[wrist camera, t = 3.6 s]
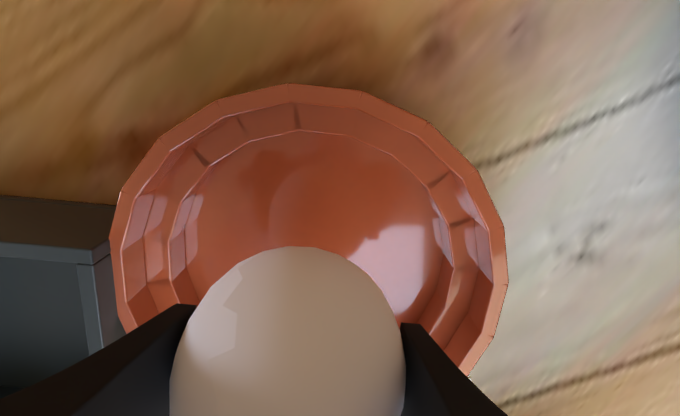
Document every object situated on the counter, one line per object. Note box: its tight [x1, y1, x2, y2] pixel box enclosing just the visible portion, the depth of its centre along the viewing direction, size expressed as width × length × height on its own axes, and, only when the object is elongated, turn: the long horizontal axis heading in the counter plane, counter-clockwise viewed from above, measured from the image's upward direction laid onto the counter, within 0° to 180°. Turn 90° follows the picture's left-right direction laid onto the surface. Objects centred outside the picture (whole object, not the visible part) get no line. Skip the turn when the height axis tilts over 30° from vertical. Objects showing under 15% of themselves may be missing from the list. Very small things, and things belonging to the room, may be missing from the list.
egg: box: [169, 246, 406, 416], centre depth 10 cm, size 6×6×8 cm
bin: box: [0, 195, 126, 399], centre depth 16 cm, size 11×11×4 cm
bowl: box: [108, 83, 509, 376], centre depth 15 cm, size 15×15×4 cm
